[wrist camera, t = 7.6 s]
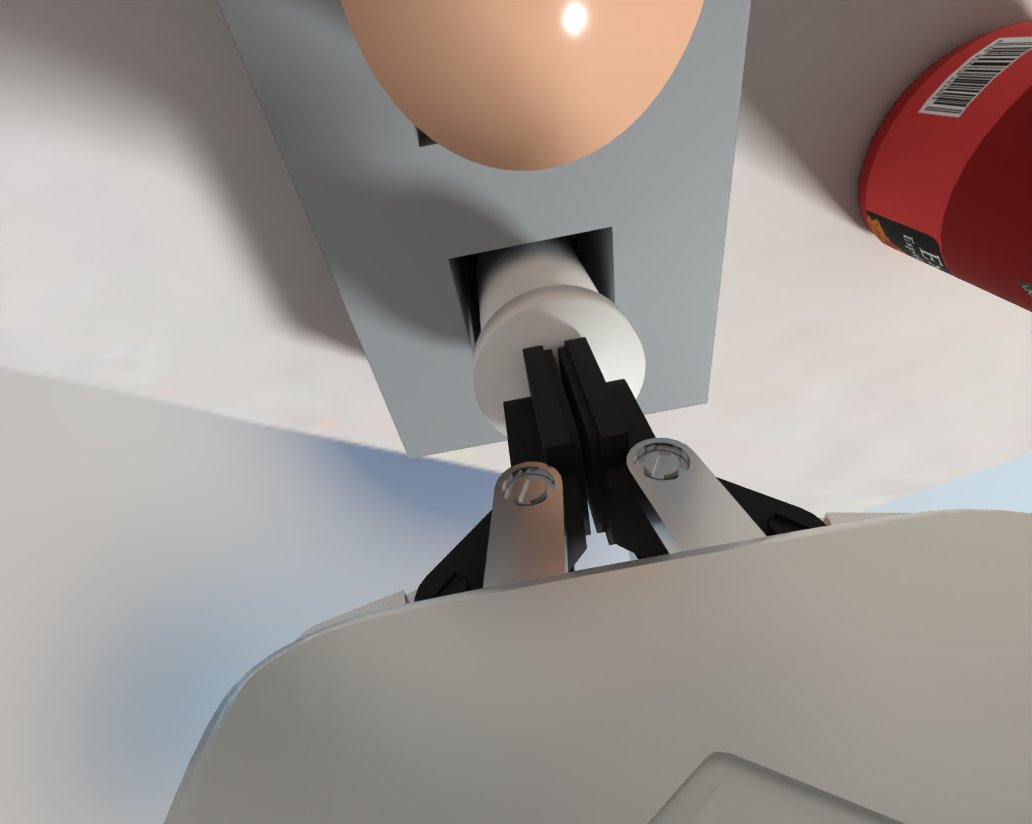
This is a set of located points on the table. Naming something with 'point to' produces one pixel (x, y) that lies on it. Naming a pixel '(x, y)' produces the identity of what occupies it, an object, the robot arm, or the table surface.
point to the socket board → (498, 211)
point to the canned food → (961, 166)
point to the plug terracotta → (522, 70)
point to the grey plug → (543, 321)
